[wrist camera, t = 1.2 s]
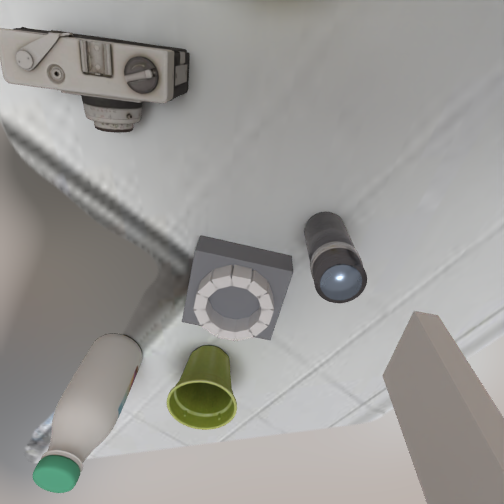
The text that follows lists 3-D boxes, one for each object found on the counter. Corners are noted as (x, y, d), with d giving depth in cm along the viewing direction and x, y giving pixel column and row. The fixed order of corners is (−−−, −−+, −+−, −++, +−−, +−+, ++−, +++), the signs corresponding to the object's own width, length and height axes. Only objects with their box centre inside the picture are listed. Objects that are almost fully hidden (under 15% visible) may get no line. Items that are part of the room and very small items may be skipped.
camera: (61, 113, 42) (6, 130, 33) (52, 28, 38) (-13, 21, 29) (186, 130, 42) (165, 150, 34) (190, 47, 39) (167, 45, 30)
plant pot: (242, 338, 56) (238, 384, 48) (239, 384, 60) (234, 432, 53) (179, 333, 56) (165, 378, 48) (180, 379, 60) (167, 427, 53)
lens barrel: (351, 216, 46) (376, 266, 36) (337, 252, 49) (357, 310, 38) (310, 206, 46) (323, 254, 35) (298, 244, 48) (307, 299, 38)
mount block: (291, 256, 49) (294, 282, 43) (270, 321, 54) (270, 353, 49) (200, 235, 48) (191, 260, 43) (187, 304, 53) (177, 334, 48)
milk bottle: (83, 338, 57) (0, 466, 39) (128, 326, 56) (63, 453, 38) (109, 374, 60) (43, 507, 43) (152, 363, 59) (102, 496, 41)
